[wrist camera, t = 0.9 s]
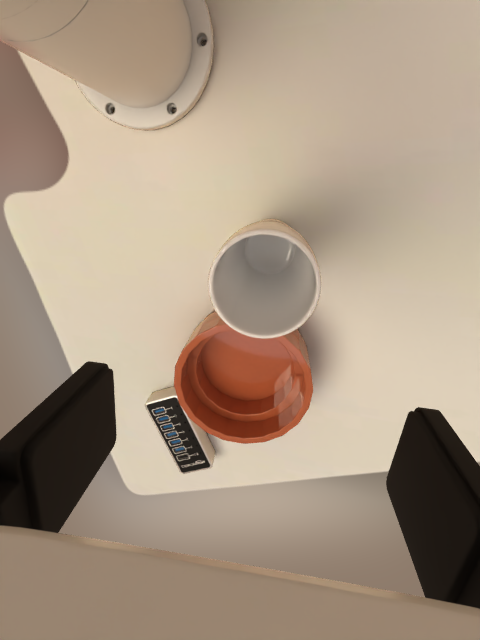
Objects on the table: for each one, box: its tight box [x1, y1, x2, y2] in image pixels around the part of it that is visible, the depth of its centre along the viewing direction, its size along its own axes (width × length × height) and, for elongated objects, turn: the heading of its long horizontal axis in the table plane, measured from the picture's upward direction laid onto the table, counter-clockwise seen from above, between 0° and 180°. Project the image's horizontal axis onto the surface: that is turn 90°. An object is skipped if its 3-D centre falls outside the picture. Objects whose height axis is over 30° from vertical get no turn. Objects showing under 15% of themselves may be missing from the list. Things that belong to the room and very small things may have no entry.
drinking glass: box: [208, 219, 321, 339], centre depth 27 cm, size 7×7×15 cm
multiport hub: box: [145, 386, 215, 474], centre depth 42 cm, size 4×11×2 cm, turn 21°
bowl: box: [174, 311, 313, 444], centre depth 36 cm, size 13×13×6 cm
